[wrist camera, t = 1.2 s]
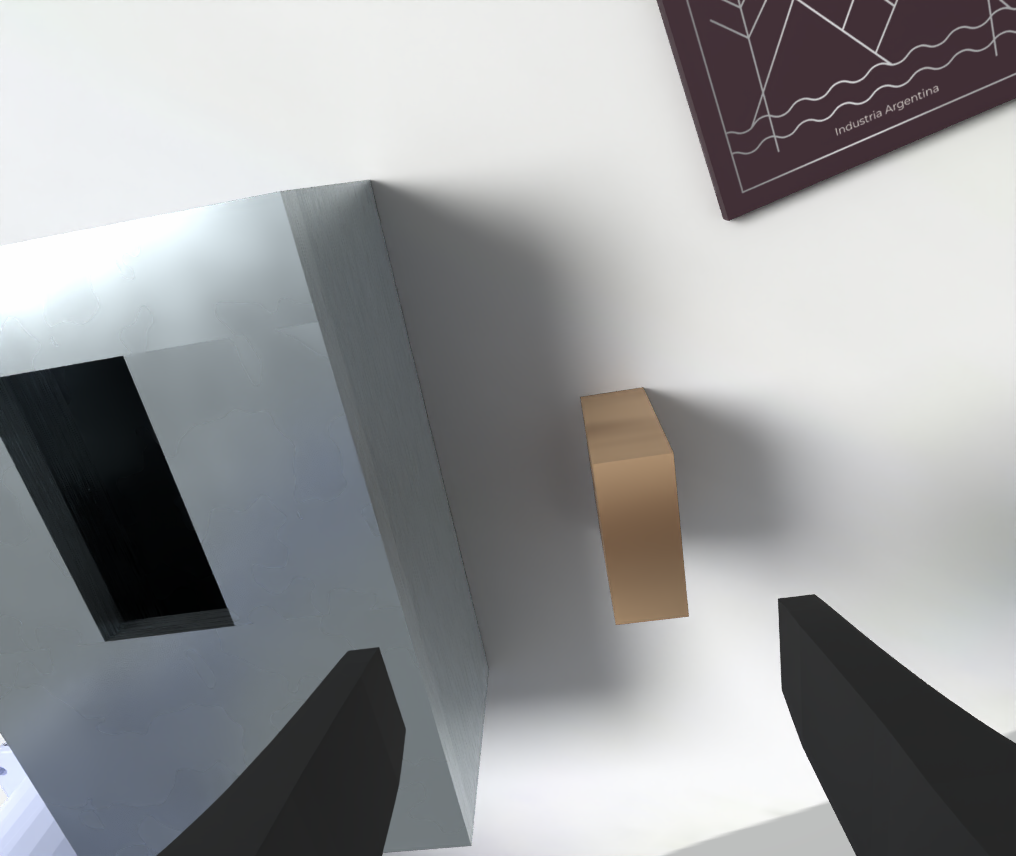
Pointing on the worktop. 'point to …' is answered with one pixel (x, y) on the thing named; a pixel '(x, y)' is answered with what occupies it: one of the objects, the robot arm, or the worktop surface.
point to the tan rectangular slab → (636, 506)
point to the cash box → (220, 515)
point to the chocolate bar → (830, 82)
